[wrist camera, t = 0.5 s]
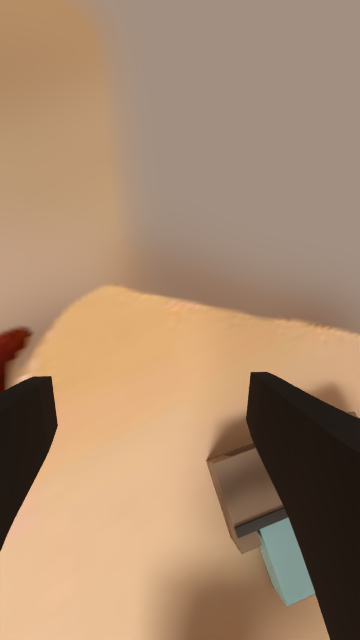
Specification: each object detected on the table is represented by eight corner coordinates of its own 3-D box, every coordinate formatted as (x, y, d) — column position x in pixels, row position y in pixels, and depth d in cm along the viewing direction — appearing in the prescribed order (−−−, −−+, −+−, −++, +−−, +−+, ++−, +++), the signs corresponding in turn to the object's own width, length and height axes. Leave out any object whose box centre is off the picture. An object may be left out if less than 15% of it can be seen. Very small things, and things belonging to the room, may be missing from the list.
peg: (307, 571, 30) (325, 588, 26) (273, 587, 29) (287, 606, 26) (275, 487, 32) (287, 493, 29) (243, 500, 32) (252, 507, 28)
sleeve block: (362, 482, 34) (398, 490, 29) (230, 537, 31) (244, 557, 26) (329, 415, 37) (356, 411, 31) (206, 460, 34) (213, 464, 29)
